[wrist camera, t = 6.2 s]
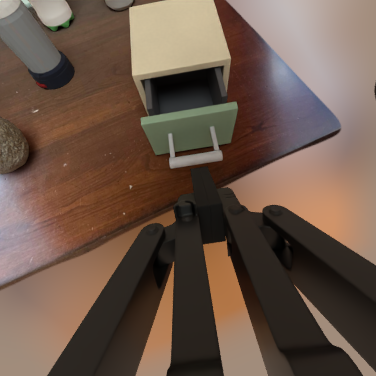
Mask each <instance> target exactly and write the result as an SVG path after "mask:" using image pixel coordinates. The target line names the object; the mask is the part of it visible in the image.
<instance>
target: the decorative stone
mask: <svg viewBox="0 0 376 376" xmlns="http://www.w3.org/2000/svg"><path fill="white" fill-rule="evenodd" d="M28 148H29V145H28V142H27V141H26V138H25V137H24V136H23V134H22V132H21V131H20V130H19V129H18V128H17V127H16V126H15V125H14V124H12V123H11V122H9V121H8V120H6V119H3V118H2V117H0V174H5V173H10V172H12V171H13V170H16V169H17V168H19V167H21V166H22V165H24V164H25V162H26V161H27V158H28V155H29V154H28V153H29V149H28Z"/></svg>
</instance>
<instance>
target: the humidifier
mask: <svg viewBox="0 0 376 376" xmlns="http://www.w3.org/2000/svg"><path fill="white" fill-rule="evenodd" d="M0 38H1V39H2V40H3V41H4V42H5V43H6V45H7V46H8V47H9V48H10V49H11V50H12V51H13V52H14V53H15V54H16V55H17V56H18V57H19V58H20V59H21V61H22V62H23V63H24V64H25V65H26V66H27V67H28V71H29V73H30V74H31V76H32V77H33V78H34V79H35V80H36V81H37V82H36V84H37V85H39V86H40V87H43V88H45V89H57V88H60V87H62V86H64V85H66V84H67V83H68V82H69V81H70V80H71V79H72V77H73V75H74V67H73V66H72V64H71V63H70V62H69V60H68V59H67V57H66V56H65V55H64V54H63V53H62V52H61V51H59V50H57V49H56V48H55V46H54V45H53V43H52V42H51V41H50V39H49V38H48V36H47V35H46V34H45V32H44V31H43V29H42V28H41V27H40V25H39V24H38V22H37V21H36V20H35V18H34V17H33V15H32V14H31V13H30V11H29V10H28V8H27V7H26V6H25V4H24V3H23V2H22V1H21V0H0Z"/></svg>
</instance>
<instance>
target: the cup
mask: <svg viewBox="0 0 376 376" xmlns="http://www.w3.org/2000/svg"><path fill="white" fill-rule="evenodd" d="M28 1H29V2H30V4H31V5H32V6H33V8H34V9H35V10H36V12H37V15H38V17H39V18H40V19H41V21H42V22H43V24H44V25H46V26H47V27H49V28H50V29H51V30H53V31H56V30H57V29H58V26H63V27H65V28H67V27H69V20H73V19H74V16H73V13H72V11H71V9H70V7H69V5H68V3H67V2H66V1H65V0H28Z"/></svg>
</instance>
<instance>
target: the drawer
mask: <svg viewBox="0 0 376 376" xmlns="http://www.w3.org/2000/svg"><path fill="white" fill-rule="evenodd" d="M144 80H145V93H146V107H147V112H148V114H149V116H148V117H142V118H141V125H142V127H143V129H144V132H145V134H146V136H147V138H148V140H149V142H150V144H151V146H152V148H153V150H154V152H155V154H156V155H160V154H166V153H170V157H171V158H169V164H170V168H171V169H172V168H179V167H185V166H191V165H197V164H204V163H210V162H216V161H222V159H223V157H222V151H221V150H219V147H218V145H222V144H228V143H231V138H232V134H233V129H234V125H235V120H236V116H237V111H238V106H237V103H236V102H231V103H227V92H226V88H225V84H224V81H223V77H222V73H221V69H220V66H217V67H212V68H206V69H200V70H195V71H189V72H183V73H178V74H172V75H166V76H161V77H155V78H149V79H144ZM209 146H213V147H214V151H212V152H206V153H199V154H193V155H187V156H181V157H175V152H178V151H185V150H191V149H197V148H203V147H209Z"/></svg>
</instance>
